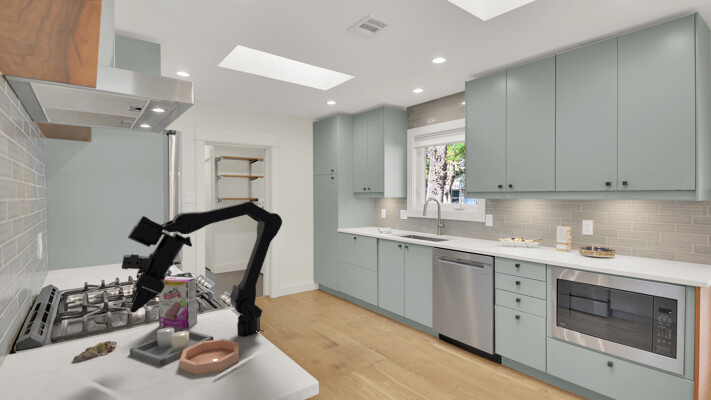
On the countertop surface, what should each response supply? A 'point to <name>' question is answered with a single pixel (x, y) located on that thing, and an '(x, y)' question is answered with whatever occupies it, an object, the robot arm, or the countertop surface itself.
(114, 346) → the mineral rock
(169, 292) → the candy bar box
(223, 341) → the bowl
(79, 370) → the countertop surface
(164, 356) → the tray
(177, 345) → the pebble sand
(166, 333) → the pebble grey
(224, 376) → the countertop surface
